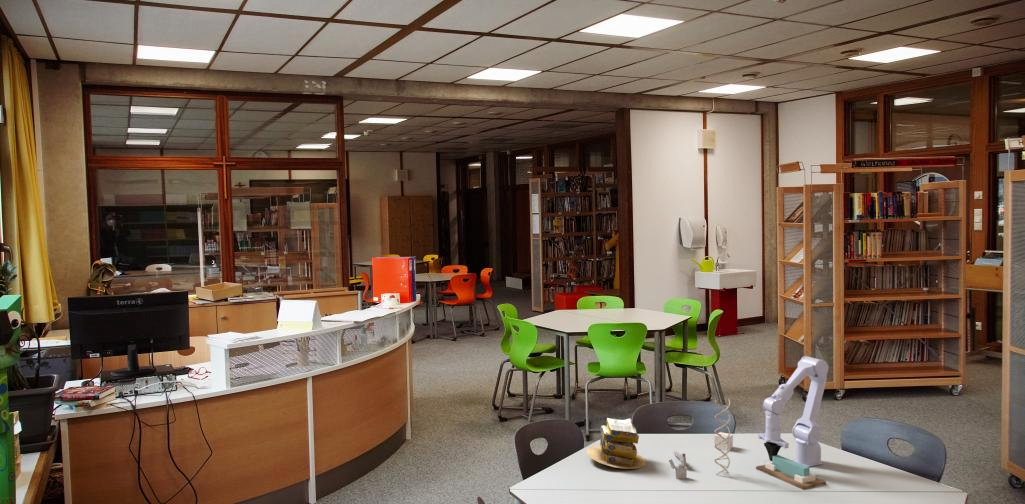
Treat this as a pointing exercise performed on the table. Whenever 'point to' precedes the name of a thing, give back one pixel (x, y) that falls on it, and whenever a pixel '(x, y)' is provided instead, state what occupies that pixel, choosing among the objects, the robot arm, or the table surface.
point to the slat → (789, 466)
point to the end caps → (796, 477)
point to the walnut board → (791, 478)
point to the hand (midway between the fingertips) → (772, 460)
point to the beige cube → (724, 446)
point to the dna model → (723, 437)
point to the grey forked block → (679, 470)
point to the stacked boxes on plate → (617, 445)
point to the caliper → (681, 457)
